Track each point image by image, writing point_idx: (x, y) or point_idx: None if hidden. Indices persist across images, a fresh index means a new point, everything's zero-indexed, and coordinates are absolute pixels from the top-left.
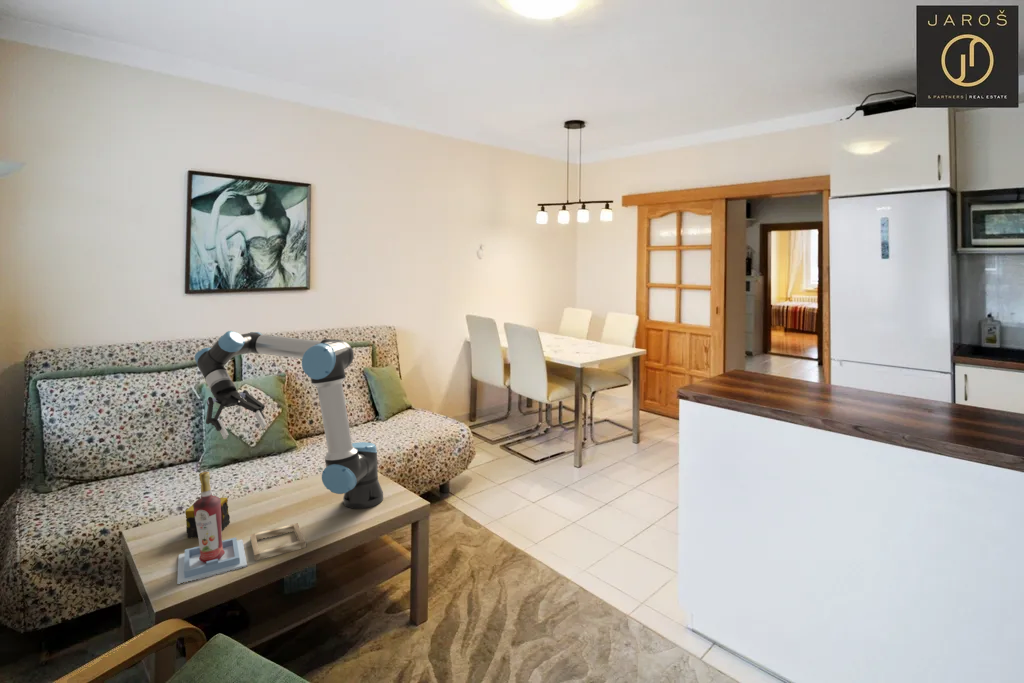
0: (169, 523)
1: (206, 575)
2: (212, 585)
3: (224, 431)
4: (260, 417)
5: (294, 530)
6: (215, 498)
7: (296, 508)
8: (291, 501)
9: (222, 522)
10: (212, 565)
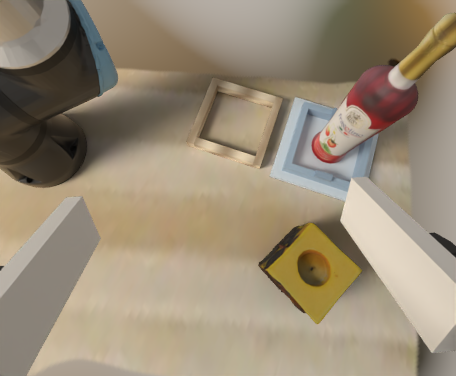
0: (344, 373)
1: None
2: (344, 89)
3: (385, 195)
4: (39, 254)
5: (198, 137)
6: (375, 73)
7: (144, 222)
8: (130, 264)
9: (280, 244)
10: None
